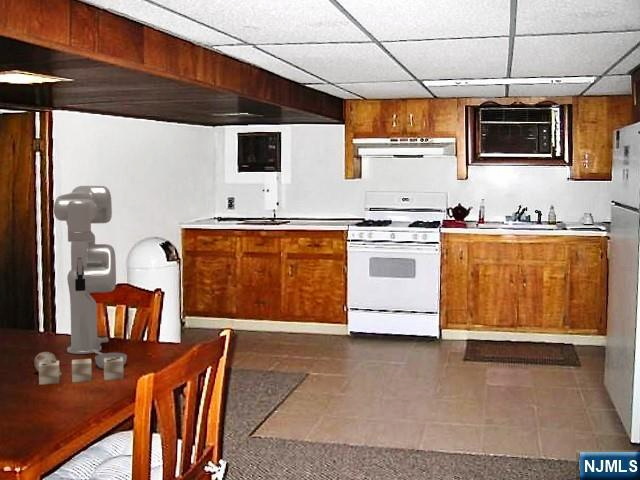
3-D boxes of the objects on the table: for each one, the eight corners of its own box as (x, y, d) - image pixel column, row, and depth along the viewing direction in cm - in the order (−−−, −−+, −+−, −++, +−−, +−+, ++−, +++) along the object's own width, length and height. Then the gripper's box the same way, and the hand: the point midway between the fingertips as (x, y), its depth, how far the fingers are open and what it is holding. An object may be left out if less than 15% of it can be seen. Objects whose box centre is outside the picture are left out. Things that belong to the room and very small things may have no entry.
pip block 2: (122, 374, 256) (122, 356, 256) (123, 379, 251) (123, 360, 250) (104, 375, 255) (103, 357, 254) (104, 380, 249) (104, 361, 248)
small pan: (105, 371, 260) (105, 360, 260) (78, 362, 272) (78, 351, 272) (133, 366, 268) (132, 355, 267) (105, 357, 280) (105, 347, 280)
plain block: (91, 376, 254) (91, 358, 253) (91, 381, 248) (91, 363, 247) (72, 377, 252) (72, 359, 251) (72, 382, 246) (71, 364, 246)
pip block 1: (59, 378, 251) (59, 360, 250) (59, 383, 245) (58, 364, 244) (40, 380, 249) (39, 361, 248) (39, 384, 243) (38, 365, 243)
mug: (38, 380, 249) (29, 352, 251) (41, 386, 258) (32, 358, 260) (61, 373, 251) (53, 344, 254) (63, 378, 260) (55, 351, 263)
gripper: (68, 235, 266) (69, 287, 267) (67, 239, 251) (68, 294, 253) (90, 235, 268) (91, 287, 269) (91, 238, 254) (92, 293, 255)
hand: (80, 290), depth 261 cm, fingers closed
